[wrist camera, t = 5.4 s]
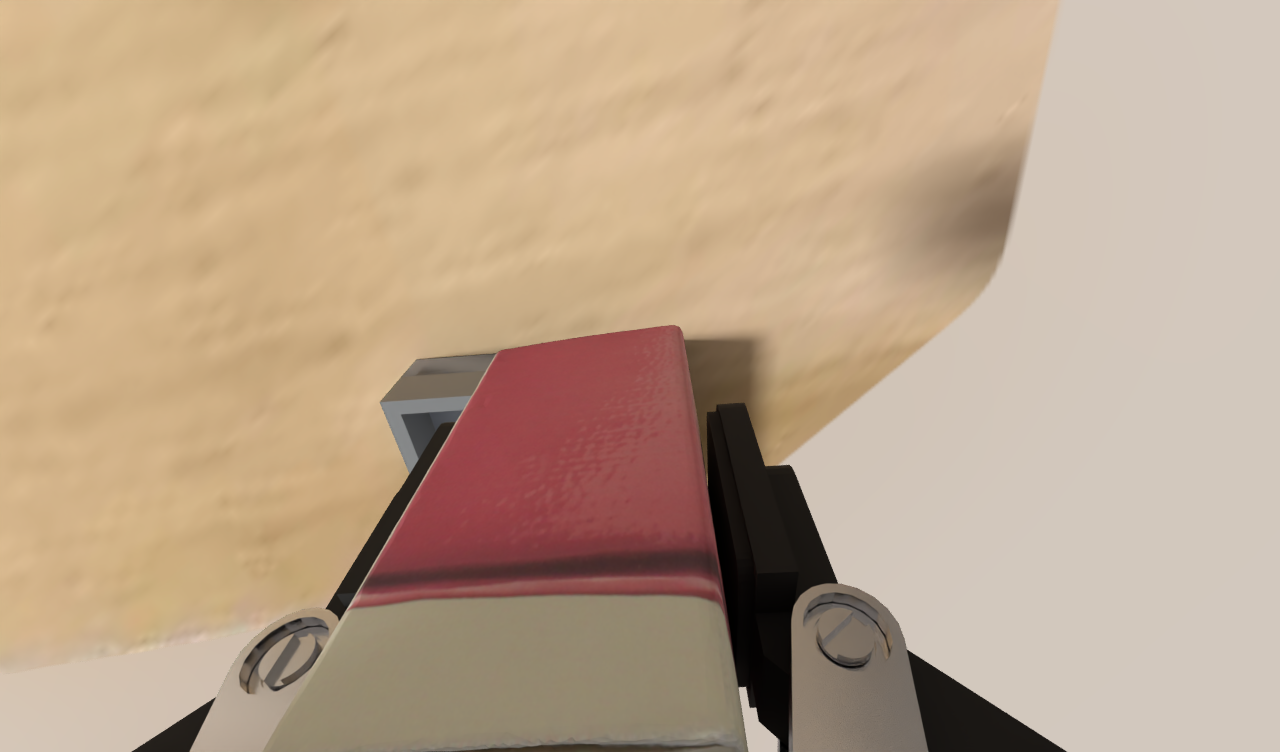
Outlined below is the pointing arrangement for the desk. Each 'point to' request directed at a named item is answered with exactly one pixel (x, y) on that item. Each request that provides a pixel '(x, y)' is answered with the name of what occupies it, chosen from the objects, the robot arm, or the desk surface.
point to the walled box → (430, 399)
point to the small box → (544, 576)
